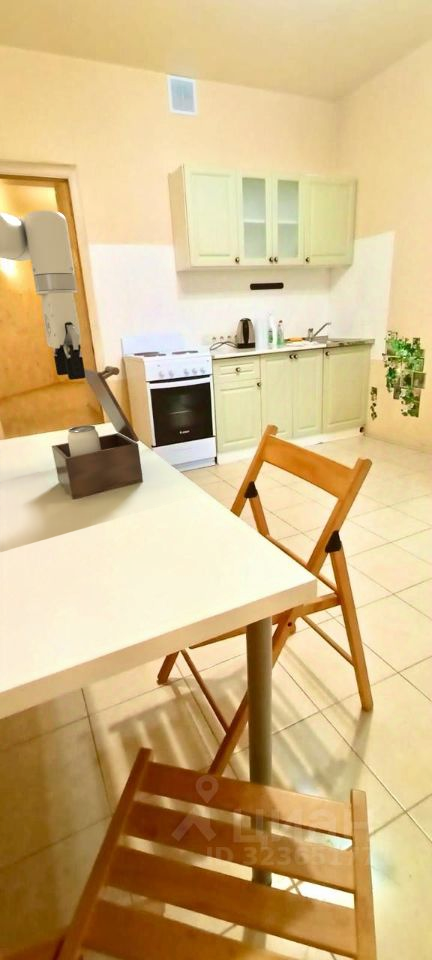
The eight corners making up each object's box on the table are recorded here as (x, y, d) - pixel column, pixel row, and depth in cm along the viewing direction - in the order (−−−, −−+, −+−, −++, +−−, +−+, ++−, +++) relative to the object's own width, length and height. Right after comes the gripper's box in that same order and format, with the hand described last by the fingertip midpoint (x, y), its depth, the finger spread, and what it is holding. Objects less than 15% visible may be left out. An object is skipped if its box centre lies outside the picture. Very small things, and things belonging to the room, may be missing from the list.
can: (70, 485, 98) (60, 432, 93) (84, 475, 104) (75, 425, 99) (97, 486, 96) (88, 432, 92) (110, 475, 102) (102, 424, 98)
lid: (97, 374, 88) (120, 360, 90) (80, 369, 98) (100, 357, 100) (136, 442, 96) (156, 429, 98) (116, 431, 106) (135, 419, 108)
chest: (72, 499, 92) (65, 459, 89) (59, 482, 103) (51, 445, 100) (143, 481, 100) (138, 443, 96) (123, 467, 110) (118, 432, 107)
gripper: (27, 289, 91) (43, 375, 97) (45, 282, 77) (62, 383, 83) (65, 288, 95) (78, 371, 101) (88, 282, 81) (101, 378, 87)
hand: (70, 376), depth 92 cm, fingers open, 9 cm apart
